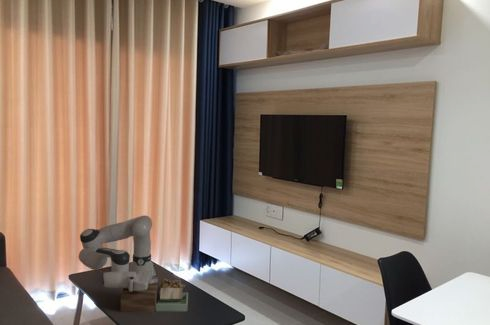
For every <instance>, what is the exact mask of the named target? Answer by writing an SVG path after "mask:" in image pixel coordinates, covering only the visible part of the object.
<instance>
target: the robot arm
mask: <svg viewBox="0 0 490 325" xmlns="http://www.w3.org/2000/svg"><path fill="white" fill-rule="evenodd" d="M152 226H153V221H152V218H151V217H150V216H149V215H145V214H144V215H140V216H137V217H134V218H131V219H128V220H125V221H122V222H118V223H113V224H109V225H106V226H103V227H101V228H98V229H95V228H87V229H85V230H83V231H82V232H81V233H80V234H79V240H80V242H81V245H82V247H83V248H82V249H81V250H80V251H79V253H78V260H79V261H80V262H81V263H82V264H83V266H85V267H87V268H89V269H91V270H94V271H98V270H100V269H102V268H103V267H104V266H105V265H106V264H107V261H108V258H110V261H111V263H110V265H111V270H110V271H107V272H106V271H105V272H103V273H102V275H101V276H102V280H101V282H102V286H103V288H106V289H107V288H108V289H120V288H122V289H123V288H128V289H129V291H133V290H135V291H143V290H147V288H148V285H149V284H152V283H158V281H159V277H155V276H156V275H157V274H156V270H155V267H154V262H153V260H152V254H151V252H152V251H151V250H152V247H151V246H152V244H151V243H152V242H151V229H152ZM131 237H132V241H133V254H132V258H131V254H130V253H129V252H128V251H127V250H125V249H115V248H109V247H104V245H103V244H105V243H108V244H109V243H112V242H113V243H114V242H118V241H121V240H125V239H129V238H131ZM130 258H131V259H132V261H131V262H130Z"/></svg>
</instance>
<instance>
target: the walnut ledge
mask: <svg viewBox="0 0 490 325" xmlns="http://www.w3.org/2000/svg"><path fill="white" fill-rule="evenodd" d="M158 293H159V283H158V282H157V283H152V284H149V285H148V288H147V290H143V291H135V290H133V291H129V289H128V288H122V291H121V292H120V313H122V312H123V313H138V312H139V313H140V312H141V313H149V312H150V313H153V312H154V313H155V312H156V304H157V302H158Z"/></svg>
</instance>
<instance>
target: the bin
mask: <svg viewBox="0 0 490 325" xmlns="http://www.w3.org/2000/svg"><path fill="white" fill-rule="evenodd" d="M160 293H161V292H158V299H157V304H156V308H155V312H156V313H157V312H158V313H160V312H161V313H162V312H163V313H164V312H171V313H173V312H177V313H178V312H188V309H189V308H188V306H189V305H188V303H189V302H188V301H189V292H182V301H160Z"/></svg>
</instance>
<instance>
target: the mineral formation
mask: <svg viewBox="0 0 490 325" xmlns="http://www.w3.org/2000/svg"><path fill="white" fill-rule="evenodd" d="M185 286H186V284H182V282H181V279H174V280H169V279H167V278H162V279H161V282H160V285H159V287H160V289H158V293H161V288H182V290H183V289H184V288H185Z"/></svg>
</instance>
